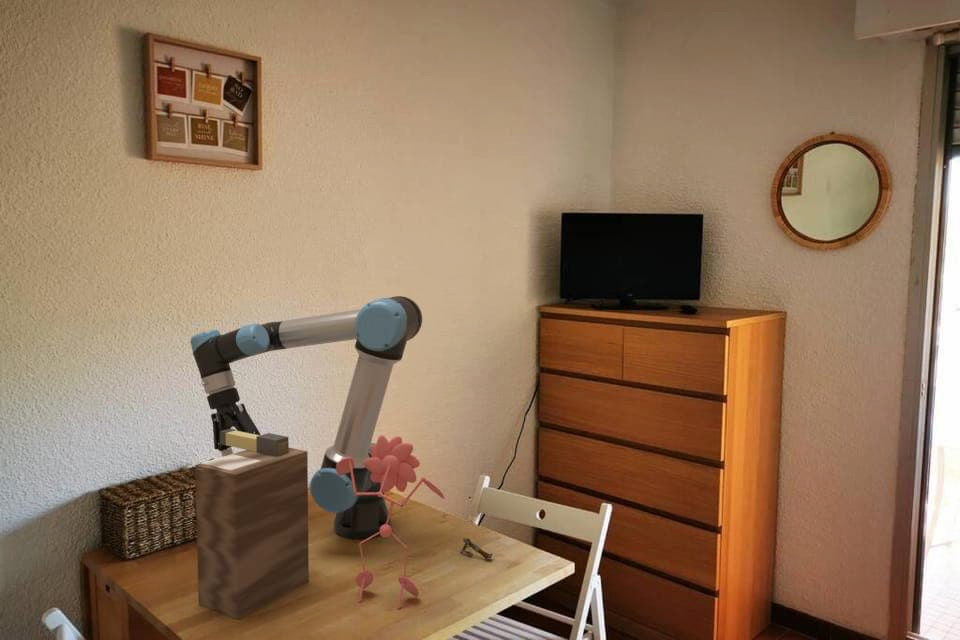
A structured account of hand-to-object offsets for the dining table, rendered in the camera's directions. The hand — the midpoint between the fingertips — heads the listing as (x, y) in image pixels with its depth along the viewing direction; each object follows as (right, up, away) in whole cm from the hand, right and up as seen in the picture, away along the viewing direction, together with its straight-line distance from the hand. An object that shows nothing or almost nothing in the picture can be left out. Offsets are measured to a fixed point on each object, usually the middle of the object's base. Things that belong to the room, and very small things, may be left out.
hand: (245, 470), depth 186 cm
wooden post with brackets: (+58, -20, -7) cm, 62 cm away
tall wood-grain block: (+11, -21, -27) cm, 36 cm away
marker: (+9, +10, -23) cm, 26 cm away
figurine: (+40, -21, -25) cm, 52 cm away
